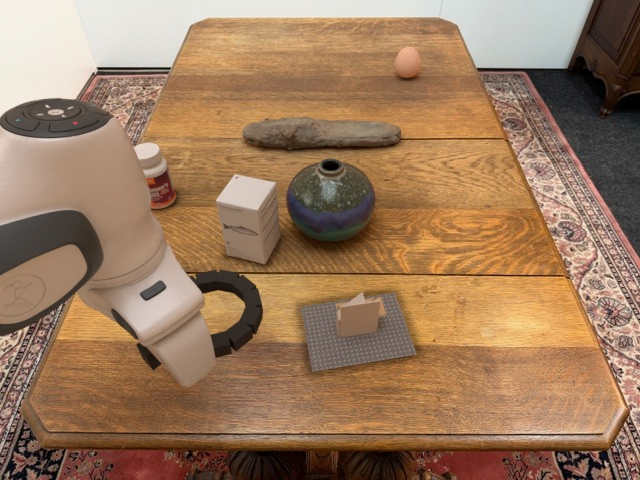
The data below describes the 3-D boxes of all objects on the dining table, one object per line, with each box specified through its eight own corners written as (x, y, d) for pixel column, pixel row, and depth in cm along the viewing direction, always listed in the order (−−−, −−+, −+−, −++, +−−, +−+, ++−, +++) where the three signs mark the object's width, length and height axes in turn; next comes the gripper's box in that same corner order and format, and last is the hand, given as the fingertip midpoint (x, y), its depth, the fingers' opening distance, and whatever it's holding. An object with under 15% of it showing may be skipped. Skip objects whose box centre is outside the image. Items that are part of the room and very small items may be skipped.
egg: (392, 71, 128) (395, 41, 123) (417, 71, 128) (421, 42, 122) (394, 82, 124) (397, 52, 118) (419, 82, 123) (424, 53, 118)
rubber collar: (178, 398, 51) (171, 385, 49) (121, 334, 57) (113, 319, 55) (282, 315, 59) (280, 300, 57) (222, 266, 65) (219, 251, 63)
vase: (271, 221, 86) (264, 162, 77) (334, 187, 93) (335, 128, 84) (325, 270, 78) (325, 209, 69) (390, 228, 85) (398, 168, 75)
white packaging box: (225, 256, 80) (213, 200, 71) (244, 228, 85) (234, 171, 76) (265, 266, 79) (257, 210, 70) (282, 237, 84) (276, 180, 75)
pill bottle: (148, 214, 88) (130, 164, 80) (141, 195, 92) (123, 146, 84) (180, 203, 90) (166, 154, 82) (172, 185, 94) (157, 137, 86)
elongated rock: (402, 157, 102) (396, 134, 110) (406, 136, 99) (400, 113, 106) (240, 151, 101) (245, 128, 109) (238, 129, 98) (244, 107, 105)
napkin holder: (334, 318, 71) (334, 287, 66) (378, 312, 72) (382, 280, 67) (338, 338, 69) (339, 307, 64) (384, 330, 70) (389, 299, 64)
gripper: (40, 229, 48) (87, 312, 57) (151, 350, 37) (186, 426, 47) (98, 200, 51) (134, 283, 60) (215, 304, 41) (235, 384, 50)
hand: (157, 347), depth 54 cm, fingers closed on rubber collar, 2 cm apart
